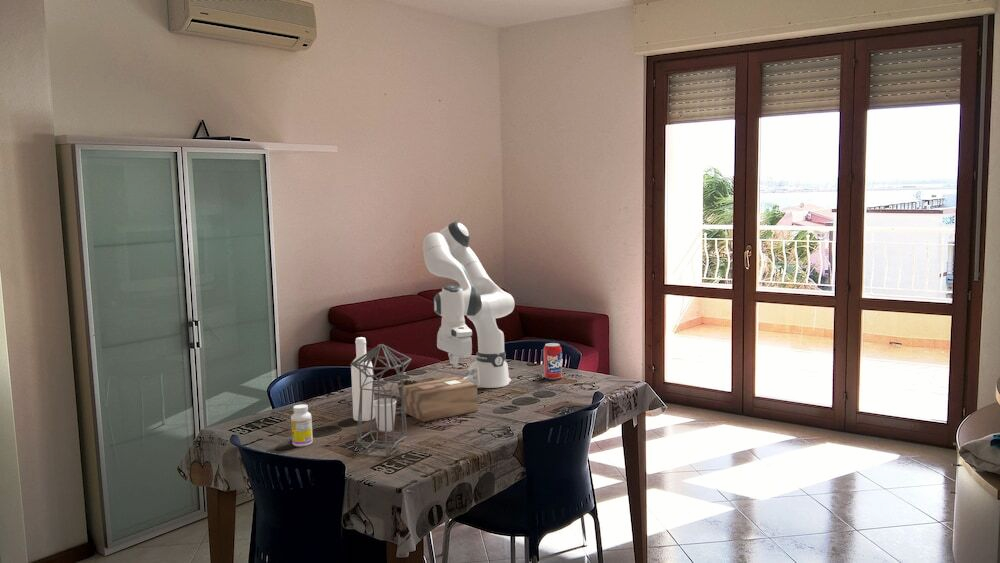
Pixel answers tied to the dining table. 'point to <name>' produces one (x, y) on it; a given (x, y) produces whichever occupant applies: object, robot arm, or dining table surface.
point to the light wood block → (440, 399)
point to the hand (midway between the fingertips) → (454, 364)
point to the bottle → (356, 384)
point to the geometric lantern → (356, 364)
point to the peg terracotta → (426, 387)
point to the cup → (406, 384)
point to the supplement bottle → (301, 426)
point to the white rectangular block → (452, 382)
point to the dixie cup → (382, 413)
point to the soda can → (552, 361)
